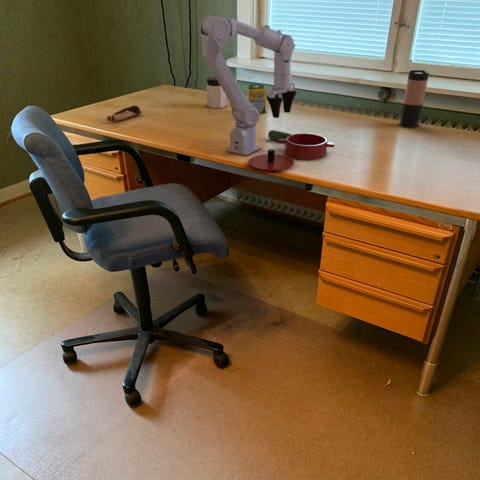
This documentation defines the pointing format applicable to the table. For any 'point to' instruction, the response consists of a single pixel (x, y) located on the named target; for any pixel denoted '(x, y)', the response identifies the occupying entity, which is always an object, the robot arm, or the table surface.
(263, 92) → the crayon box
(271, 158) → the lid
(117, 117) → the lashed bone hook
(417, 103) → the travel mug
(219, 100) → the jar
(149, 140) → the table surface
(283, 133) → the cucumber
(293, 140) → the pot
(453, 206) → the table surface
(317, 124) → the table surface
